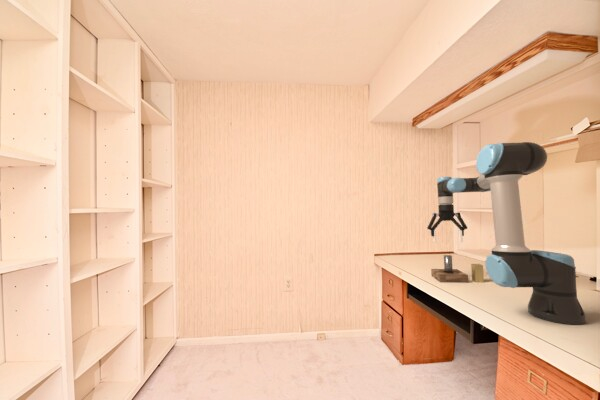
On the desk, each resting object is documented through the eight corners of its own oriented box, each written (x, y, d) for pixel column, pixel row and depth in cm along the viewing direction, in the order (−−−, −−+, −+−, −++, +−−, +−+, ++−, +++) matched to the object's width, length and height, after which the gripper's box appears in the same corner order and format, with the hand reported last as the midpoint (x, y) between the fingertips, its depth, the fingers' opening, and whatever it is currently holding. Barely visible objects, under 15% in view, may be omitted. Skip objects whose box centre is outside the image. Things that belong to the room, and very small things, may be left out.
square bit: (483, 282, 140) (482, 265, 141) (475, 282, 141) (474, 265, 141) (480, 280, 144) (479, 263, 145) (472, 280, 145) (471, 263, 145)
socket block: (468, 282, 141) (467, 275, 141) (439, 282, 143) (439, 274, 143) (457, 276, 154) (456, 269, 155) (431, 275, 157) (431, 268, 157)
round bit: (454, 278, 146) (453, 256, 147) (446, 278, 147) (445, 256, 148) (451, 276, 150) (450, 255, 151) (443, 276, 151) (442, 255, 152)
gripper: (466, 203, 152) (468, 241, 151) (420, 205, 156) (422, 241, 155) (473, 203, 144) (475, 242, 144) (424, 204, 149) (426, 242, 148)
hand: (447, 242), depth 149 cm, fingers open, 13 cm apart
